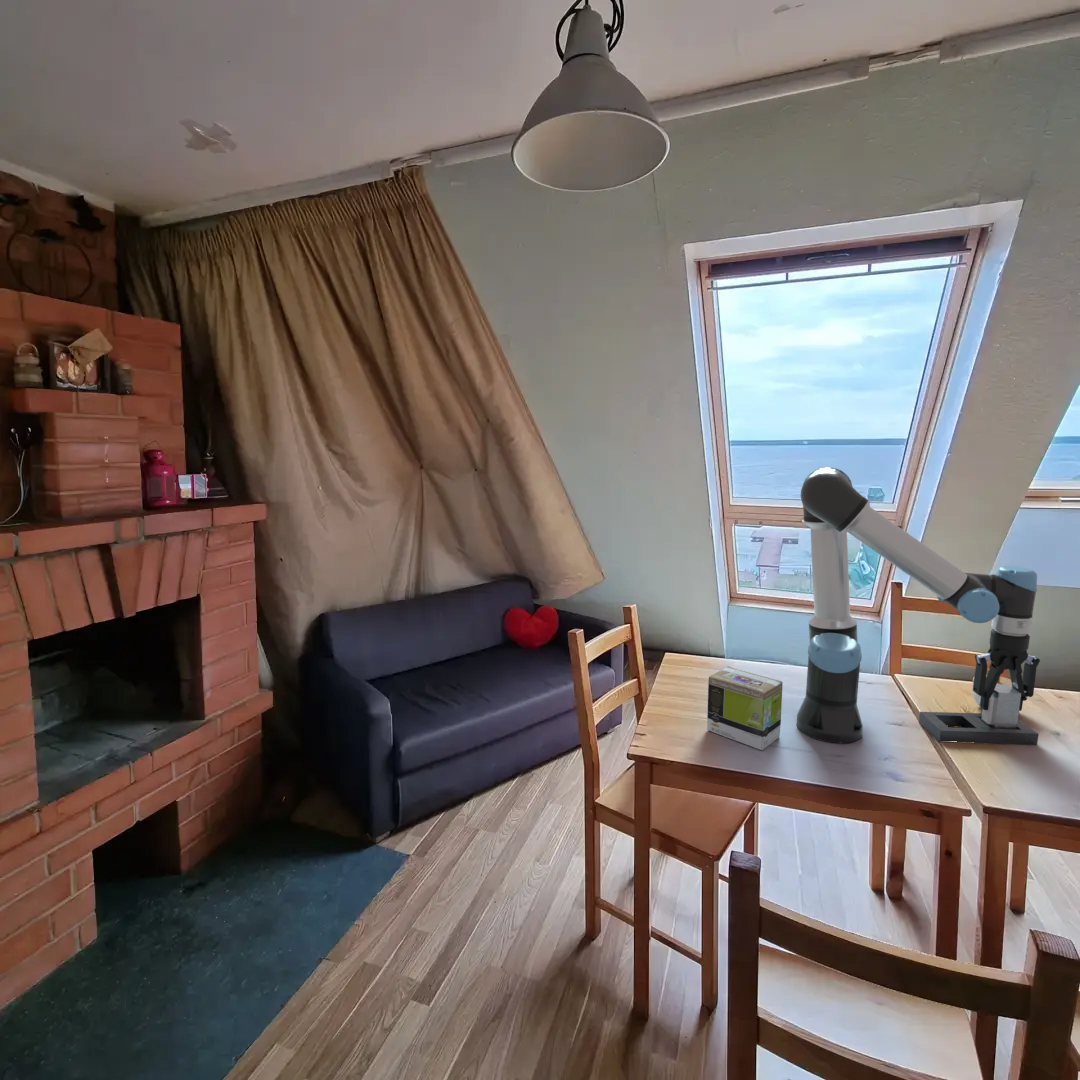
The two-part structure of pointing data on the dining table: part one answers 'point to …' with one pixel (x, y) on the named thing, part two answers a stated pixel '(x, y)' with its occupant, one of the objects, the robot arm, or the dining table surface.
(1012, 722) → the solid steel block
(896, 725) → the dining table surface
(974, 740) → the dark grey flat frame
